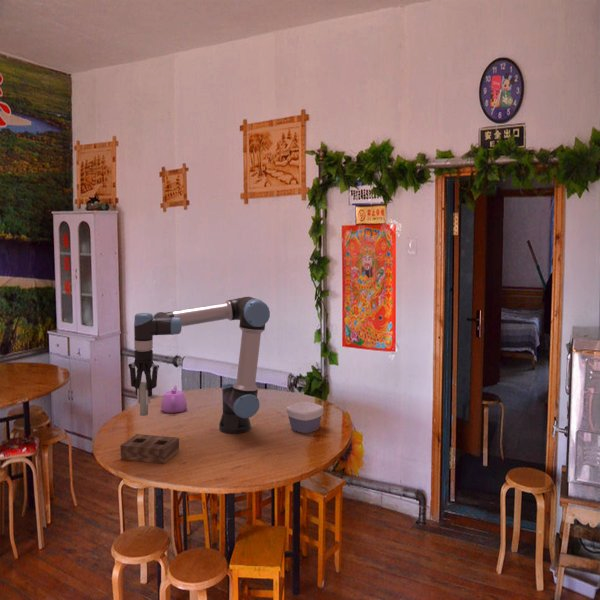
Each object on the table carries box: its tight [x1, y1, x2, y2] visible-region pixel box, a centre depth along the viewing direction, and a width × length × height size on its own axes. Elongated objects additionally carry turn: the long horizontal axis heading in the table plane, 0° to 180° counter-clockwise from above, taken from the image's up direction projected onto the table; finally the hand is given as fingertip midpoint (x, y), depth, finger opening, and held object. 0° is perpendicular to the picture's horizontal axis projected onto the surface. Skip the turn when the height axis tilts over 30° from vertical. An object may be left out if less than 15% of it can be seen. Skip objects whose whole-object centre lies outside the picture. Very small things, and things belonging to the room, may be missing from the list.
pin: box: [139, 381, 149, 417], centre depth 254 cm, size 3×3×14 cm
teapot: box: [160, 384, 188, 414], centre depth 315 cm, size 13×20×11 cm
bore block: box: [119, 433, 180, 465], centre depth 253 cm, size 20×14×6 cm
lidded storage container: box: [286, 401, 324, 434], centre depth 286 cm, size 15×15×11 cm
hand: (143, 403), depth 254 cm, fingers closed on pin, 3 cm apart
